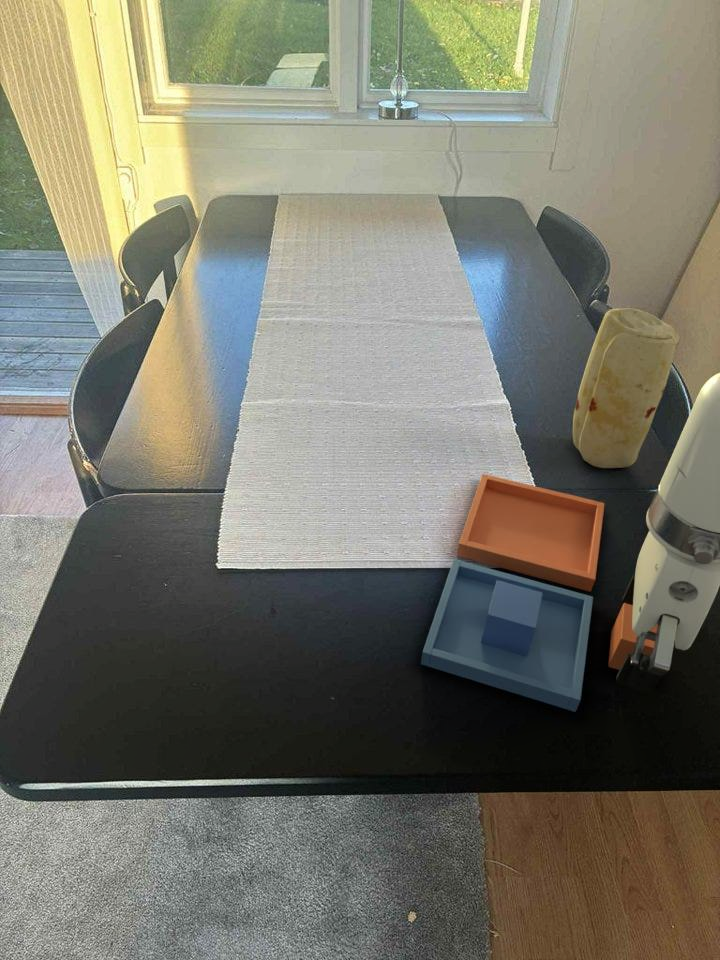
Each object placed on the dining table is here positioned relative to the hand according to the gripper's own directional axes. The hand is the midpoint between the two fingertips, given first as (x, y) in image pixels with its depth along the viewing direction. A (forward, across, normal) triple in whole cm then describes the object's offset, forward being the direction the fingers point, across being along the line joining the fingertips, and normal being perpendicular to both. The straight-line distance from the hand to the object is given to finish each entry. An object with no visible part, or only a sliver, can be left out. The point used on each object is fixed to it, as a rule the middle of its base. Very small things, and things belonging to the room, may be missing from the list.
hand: (635, 643), depth 67 cm
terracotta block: (+2, 0, 0) cm, 2 cm away
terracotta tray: (+2, +13, +12) cm, 18 cm away
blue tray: (+2, -2, +12) cm, 12 cm away
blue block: (+1, -2, +12) cm, 12 cm away
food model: (+2, +31, +6) cm, 32 cm away
